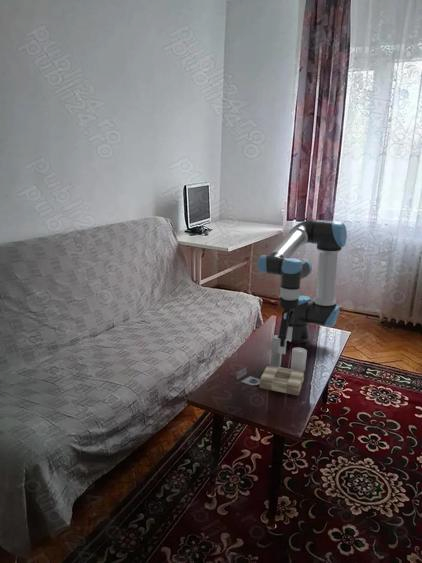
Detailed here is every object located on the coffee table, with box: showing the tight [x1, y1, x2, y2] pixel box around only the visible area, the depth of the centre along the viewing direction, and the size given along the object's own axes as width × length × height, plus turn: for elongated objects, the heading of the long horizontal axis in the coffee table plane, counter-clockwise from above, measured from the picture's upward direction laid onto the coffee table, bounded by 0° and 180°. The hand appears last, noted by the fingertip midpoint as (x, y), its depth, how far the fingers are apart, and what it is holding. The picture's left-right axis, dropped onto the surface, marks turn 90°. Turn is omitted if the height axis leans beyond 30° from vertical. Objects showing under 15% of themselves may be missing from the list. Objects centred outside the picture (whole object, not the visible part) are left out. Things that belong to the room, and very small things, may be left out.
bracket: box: [236, 367, 260, 386], centre depth 176 cm, size 7×10×4 cm, turn 48°
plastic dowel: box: [290, 347, 308, 372], centre depth 188 cm, size 6×6×9 cm
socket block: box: [259, 364, 305, 396], centre depth 174 cm, size 14×16×4 cm
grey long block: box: [270, 334, 283, 367], centre depth 190 cm, size 4×4×14 cm
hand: (285, 347), depth 171 cm, fingers open, 13 cm apart
